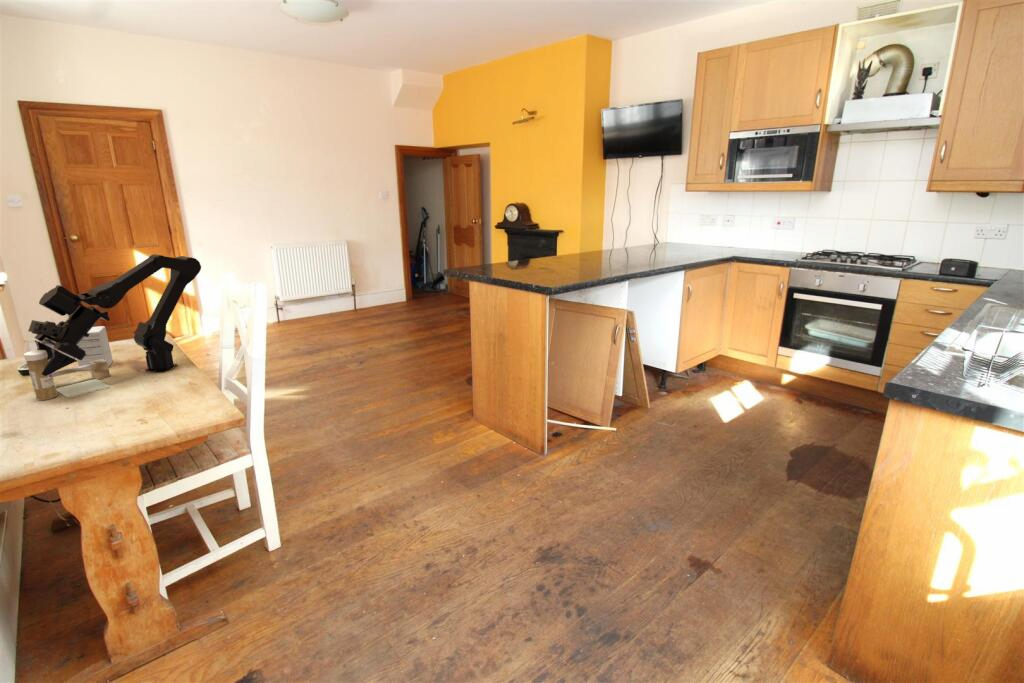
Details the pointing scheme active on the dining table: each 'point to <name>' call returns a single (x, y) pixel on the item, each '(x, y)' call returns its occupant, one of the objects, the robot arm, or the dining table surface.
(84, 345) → the supplement box
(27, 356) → the sprinkles bottle
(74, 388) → the pad
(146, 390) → the dining table surface
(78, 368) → the handrail
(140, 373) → the dining table surface
